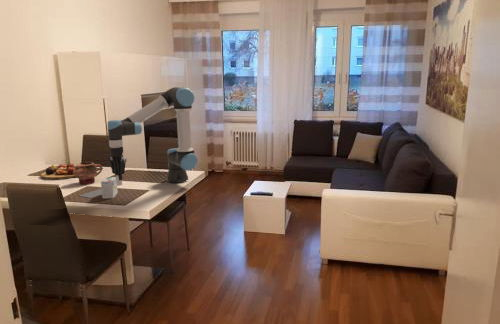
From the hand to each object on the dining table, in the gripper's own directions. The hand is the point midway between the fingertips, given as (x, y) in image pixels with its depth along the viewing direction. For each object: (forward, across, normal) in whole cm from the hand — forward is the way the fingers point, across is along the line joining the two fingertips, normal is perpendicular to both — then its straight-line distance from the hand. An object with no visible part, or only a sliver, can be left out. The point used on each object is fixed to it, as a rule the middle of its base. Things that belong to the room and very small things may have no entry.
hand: (119, 185), depth 229 cm
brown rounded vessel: (+8, +47, -16) cm, 50 cm away
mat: (+8, +21, 0) cm, 22 cm away
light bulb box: (+8, +9, 0) cm, 12 cm away
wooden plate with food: (+9, +83, -24) cm, 87 cm away
